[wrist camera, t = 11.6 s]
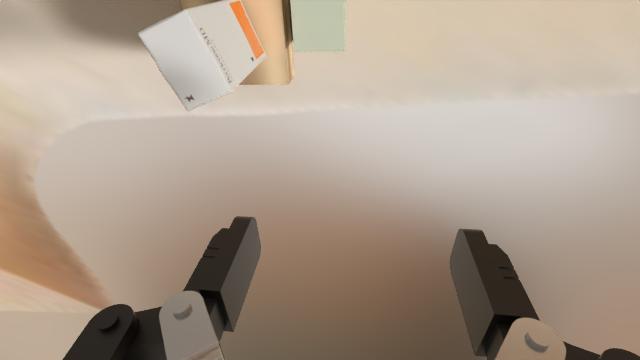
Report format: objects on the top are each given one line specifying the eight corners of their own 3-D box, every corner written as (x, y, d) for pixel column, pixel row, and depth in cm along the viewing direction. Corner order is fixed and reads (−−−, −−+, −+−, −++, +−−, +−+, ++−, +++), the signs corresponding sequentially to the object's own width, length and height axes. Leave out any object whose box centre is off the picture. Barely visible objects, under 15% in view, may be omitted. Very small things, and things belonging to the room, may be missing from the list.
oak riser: (286, -27, 32) (279, -26, 29) (294, 73, 38) (288, 84, 34) (191, -23, 33) (174, -22, 30) (213, 74, 39) (200, 84, 35)
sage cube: (345, -12, 33) (344, -8, 28) (345, 40, 35) (344, 51, 31) (297, -10, 33) (289, -6, 29) (300, 41, 36) (294, 52, 32)
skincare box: (269, 55, 33) (233, 95, 23) (234, 70, 34) (186, 114, 24) (239, -8, 30) (184, 7, 20) (202, 11, 31) (133, 33, 21)
